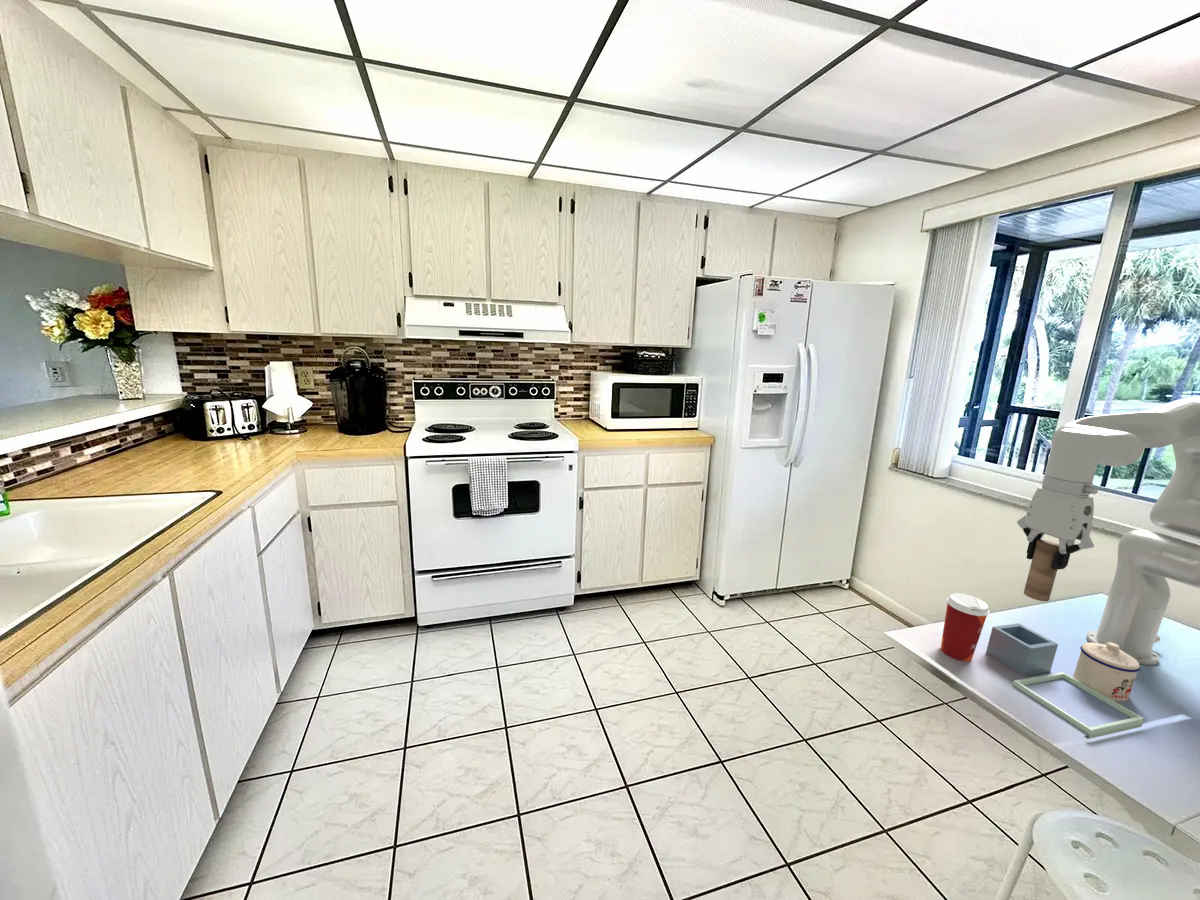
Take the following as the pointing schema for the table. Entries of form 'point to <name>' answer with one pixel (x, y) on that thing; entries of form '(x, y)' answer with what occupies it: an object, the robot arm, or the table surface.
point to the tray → (1092, 731)
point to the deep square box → (1021, 649)
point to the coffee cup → (963, 626)
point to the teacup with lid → (1107, 670)
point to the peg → (1041, 571)
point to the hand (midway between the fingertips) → (1045, 562)
